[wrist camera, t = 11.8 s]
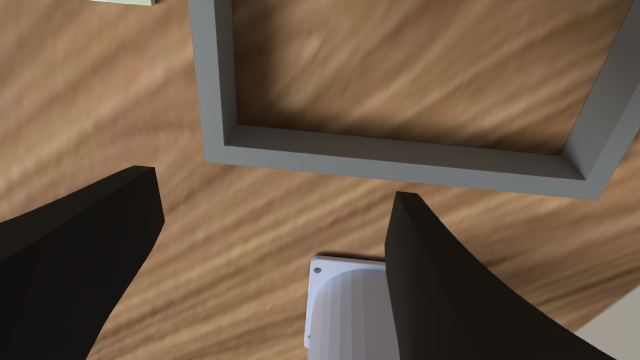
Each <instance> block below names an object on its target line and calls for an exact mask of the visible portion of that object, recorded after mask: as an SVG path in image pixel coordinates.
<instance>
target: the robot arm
mask: <svg viewBox="0 0 640 360" xmlns="http://www.w3.org/2000/svg"><path fill="white" fill-rule="evenodd" d="M164 223H165V219H164V214H163V209H162V203H161V198H160V193H159V188H158V182H157V177H156V172H155V167H146V166H136V165H134V166H131V167H129V168H126V169H123V170H121V171H119V172H116V173H114V174H112V175H110V176H108V177H105V178H103V179H101V180H99V181H97V182H95V183H93V184H90V185H88V186H86V187H84V188H82V189H80V190H78V191H75V192H73V193H71V194H69V195H67V196H65V197H62V198H60V199H58V200H55V201H53V202H51V203H48V204H46V205H44V206H41V207H39V208H37V209H34V210H32V211H30V212H27V213H25V214H22V215H20V216H17V217H15V218H12V219H9V220H7V221H4V222H1V223H0V360H86V358H87V356H88V354H89V352H90V350H91V348H92V346H93V345H94V343H95V341H96V339H97V337H98V335H99V333H100V331H101V329H102V327H103V325H104V324H105V322H106V320H107V319H108V317H109V315H110V314H111V312H112V311H113V309H114V308H115V306H116V305H117V303H118V301H119V300H120V298H121V297H122V295H123V294H124V292H125V291H126V289H127V288H128V286H129V285H130V283H131V282H132V280H133V279H134V277H135V276H136V274H137V273H138V271H139V269H140V268H141V266H142V265H143V263H144V262H145V260H146V259H147V257H148V255H149V254H150V252H151V251H152V249H153V247H154V245H155V243H156V241H157V238H158V236H159V234H160V232H161V230H162V227H163V225H164ZM316 268H320V269H316ZM304 346H305V347H306V348H308V358H307V360H616V359H614V358H613V357H611V356H609V355H607V354H606V353H604V352H602V351H600V350H599V349H597V348H596V347H594V346H593V345H591V344H589V343H588V342H586V341H585V340H583V339H581V338H580V337H578V336H577V335H575V334H573V333H572V332H570V331H569V330H567V329H566V328H564V327H563V326H561V325H560V324H558V323H557V322H555V321H554V320H552V319H551V318H549V317H548V316H547V315H545V314H544V313H542V312H541V311H540V310H538V309H537V308H536V307H534V306H533V305H531V304H530V303H529V302H527V301H526V300H525V299H523V298H522V297H521V296H519V295H518V294H517V293H516V292H514V291H513V290H512V289H510V288H509V287H508V286H507V285H506V284H505V283H503V282H502V281H501V280H500V279H499V278H497V277H496V276H495V275H494V274H493V273H491V272H490V271H489V270H488V269H487V268H486V267H485V266H484V265H483V264H481V263H480V262H479V261H478V260H477V259H476V258H475V257H474V256H473V255H472V254H471V253H470V252H469V251H468V250H467V249H466V248H465V247H464V246H463V245H462V244H461V243H460V242H459V241H458V240H457V239H456V237H455V236H454V235H453V234H452V233H451V232H450V231H449V230H448V229H447V228H446V226H445V225H444V224H443V223H442V222H441V221H440V220H439V218H438V217H437V216H436V215H435V214H434V213H433V211H432V210H431V209H430V208H429V207H428V205H427V204H426V203H425V202H424V201H423V199H422V198H421V197H420V196H419V195H418V194H417V193H409V192H399V191H396V195H395V200H394V204H393V209H392V213H391V218H390V222H389V227H388V231H387V236H386V240H385V262H378V261H368V260H358V259H349V258H339V257H329V256H314V257H313V258H312V259H311V265H310V277H309V289H308V301H307V313H306V325H305V337H304Z"/></svg>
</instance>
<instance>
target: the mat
mask: <svg viewBox="0 0 640 360" xmlns="http://www.w3.org/2000/svg"><path fill="white" fill-rule="evenodd" d="M93 1H104V2H115V3H126V4H136V5H147V6H153V5H155V0H93Z"/></svg>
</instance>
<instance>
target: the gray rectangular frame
mask: <svg viewBox="0 0 640 360" xmlns="http://www.w3.org/2000/svg"><path fill="white" fill-rule="evenodd" d="M188 4H189V14H190V23H191V33H192V42H193V52H194V62H195V71H196V81H197V91H198V100H199V110H200V119H201V129H202V139H203V148H204V158H205V162H211V163H221V164H231V165H241V166H251V167H262V168H272V169H282V170H292V171H302V172H312V173H323V174H333V175H343V176H353V177H363V178H373V179H384V180H394V181H404V182H414V183H424V184H435V185H445V186H455V187H465V188H475V189H485V190H496V191H506V192H516V193H526V194H536V195H546V196H557V197H567V198H577V199H587V200H597V201H598V199H599V197H600V196H601V194H602V192H603V191H604V189H605V187H606V185H607V184H608V182H609V180H610V178H611V177H612V175H613V173H614V172H615V170H616V168H617V166H618V165H619V163H620V161H621V159H622V158H623V156H624V154H625V153H626V151H627V149H628V147H629V146H630V144H631V142H632V141H633V139H634V137H635V135H636V134H637V132H638V130H639V128H640V0H634V1H633V3H632V6H631V8H630V10H629V12H628V14H627V16H626V18H625V20H624V22H623V24H622V27H621V29H620V31H619V33H618V35H617V37H616V39H615V41H614V43H613V46H612V48H611V50H610V52H609V54H608V56H607V58H606V60H605V62H604V64H603V67H602V69H601V71H600V73H599V75H598V77H597V79H596V81H595V83H594V85H593V88H592V90H591V92H590V94H589V96H588V98H587V100H586V102H585V104H584V106H583V109H582V111H581V113H580V115H579V117H578V119H577V121H576V123H575V125H574V127H573V130H572V132H571V134H570V136H569V138H568V140H567V142H566V144H565V146H564V148H563V151H562V153H561V155H560V156H559V155H548V154H538V153H528V152H517V151H507V150H497V149H486V148H476V147H466V146H455V145H445V144H434V143H424V142H414V141H403V140H393V139H383V138H372V137H362V136H352V135H341V134H331V133H320V132H310V131H300V130H289V129H279V128H269V127H258V126H248V125H238V124H237V104H236V83H235V62H234V41H233V20H232V0H188Z"/></svg>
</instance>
